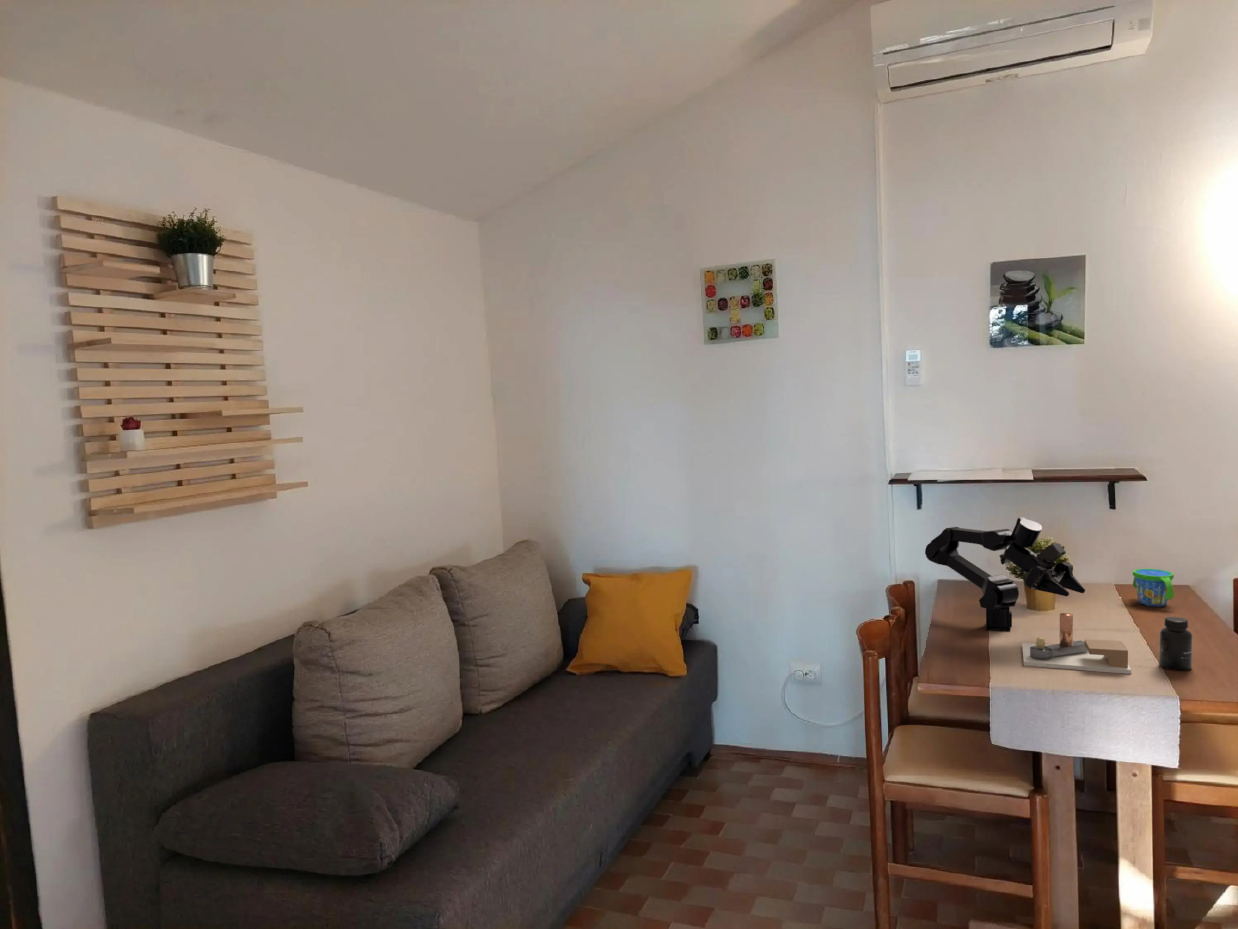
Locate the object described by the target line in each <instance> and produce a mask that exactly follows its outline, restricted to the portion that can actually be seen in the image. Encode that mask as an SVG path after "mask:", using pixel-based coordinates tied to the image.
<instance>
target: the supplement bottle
mask: <svg viewBox="0 0 1238 929" xmlns="http://www.w3.org/2000/svg"><path fill="white" fill-rule="evenodd" d="M1163 625H1164V627H1163V628H1162V629H1161V630H1159V645H1158V646H1159V650H1158V651H1159V653H1158V665H1159V666H1161V667H1162V668H1165V669H1167V670H1171V671H1177V672H1179V671H1180V672H1181V671H1189V670H1191V669H1192V665H1193V633H1192V632H1191V631H1190V630H1188V629H1189V620H1188V619H1186V618H1183V617H1178V616H1167V617H1165V618H1164V623H1163Z"/></svg>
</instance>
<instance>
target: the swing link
mask: <svg viewBox="0 0 1238 929" xmlns="http://www.w3.org/2000/svg"><path fill="white" fill-rule="evenodd" d="M1073 626H1074V614H1072V613H1069V612H1060V613H1059V643H1055V644H1046V645H1047V646H1045V649H1039V648H1036V646H1032V647H1030V657H1032V658H1035V659H1042V660H1046V659H1051V658H1052V657H1055V656H1062V655H1068V654H1074V653H1080V652H1087V651H1088V650H1087V649H1086V647H1085V640H1081V639H1080V640H1074V639H1073V638H1074V637H1073V636H1074V627H1073Z"/></svg>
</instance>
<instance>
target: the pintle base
mask: <svg viewBox="0 0 1238 929" xmlns="http://www.w3.org/2000/svg"><path fill="white" fill-rule="evenodd" d="M1035 642H1036V643H1030V642H1029V643H1028V642H1022V643H1021V646H1022V647H1021V648H1022V659H1023V665H1024V666H1025V667H1037V668H1038V667H1039V668H1050V669H1063V670H1076V671H1078V670H1079V671H1091V672H1103V673H1114V674H1127V675H1128V674H1129V675H1132V669H1131V667H1130V665H1129V649H1128V648H1127V647H1126V645H1125V644H1124V643H1123V641H1122V640H1108V639H1107V640H1106V639H1092V638H1091V639H1090V638H1089V639H1088V638H1084V642H1085V647H1086V649H1087V650H1088V651H1087V652H1080V653H1074V654H1068V655H1062V656H1055V657H1052V658H1051V659H1046V660H1042V659H1035V658H1032V657H1030V647H1032V646H1036V648H1039V649H1045V646H1047V645H1048V644H1046V638H1044V637H1041V636H1039V637H1036V641H1035Z"/></svg>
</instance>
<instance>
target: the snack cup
mask: <svg viewBox="0 0 1238 929" xmlns="http://www.w3.org/2000/svg"><path fill="white" fill-rule="evenodd" d="M1132 576H1133V581H1132V586H1133V588H1134V589H1136V594H1137V600H1138V603H1139V604H1141V605H1144V606H1147V607H1153V608H1155V607H1156V608H1157V607H1159V608H1160V607H1164V606H1167V603H1168V600H1172V599H1173V598H1174V597H1175V592H1174V589H1173V588H1174V587H1173V582H1172V580H1173V579H1174V577H1175V574H1174V573H1173V572H1172V571H1169V570H1165V569H1160V568H1159V569H1158V568H1138V569H1134V570H1133V571H1132Z"/></svg>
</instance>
